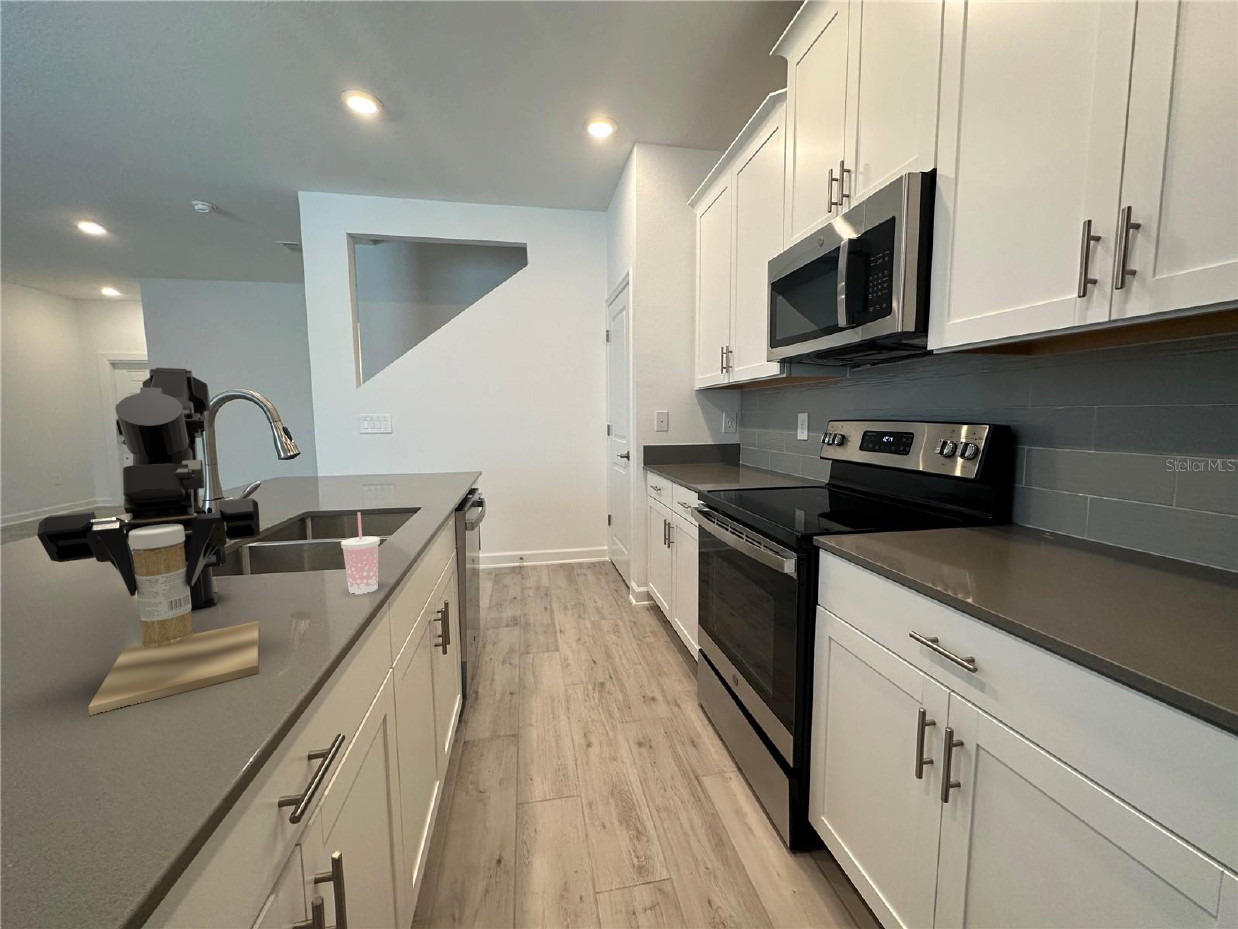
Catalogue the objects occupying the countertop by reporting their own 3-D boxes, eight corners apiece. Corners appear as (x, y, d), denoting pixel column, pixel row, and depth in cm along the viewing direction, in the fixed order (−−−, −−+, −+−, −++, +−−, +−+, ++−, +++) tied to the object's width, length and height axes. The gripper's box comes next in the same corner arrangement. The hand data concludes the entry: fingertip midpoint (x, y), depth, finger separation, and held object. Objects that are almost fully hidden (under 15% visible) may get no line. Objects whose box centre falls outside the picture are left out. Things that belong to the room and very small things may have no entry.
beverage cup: (386, 590, 86) (381, 512, 85) (346, 598, 83) (341, 517, 81) (378, 581, 91) (374, 507, 90) (341, 588, 88) (336, 511, 86)
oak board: (125, 655, 63) (124, 648, 63) (258, 627, 71) (258, 621, 71) (89, 715, 50) (88, 706, 50) (257, 673, 58) (257, 665, 58)
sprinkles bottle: (183, 629, 59) (171, 521, 58) (203, 636, 57) (191, 524, 56) (133, 646, 55) (119, 529, 54) (153, 654, 53) (139, 533, 52)
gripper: (30, 441, 51) (6, 569, 44) (252, 435, 63) (263, 536, 55) (61, 504, 58) (44, 623, 51) (255, 488, 70) (265, 584, 62)
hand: (161, 589), depth 55 cm, fingers closed on sprinkles bottle, 4 cm apart
